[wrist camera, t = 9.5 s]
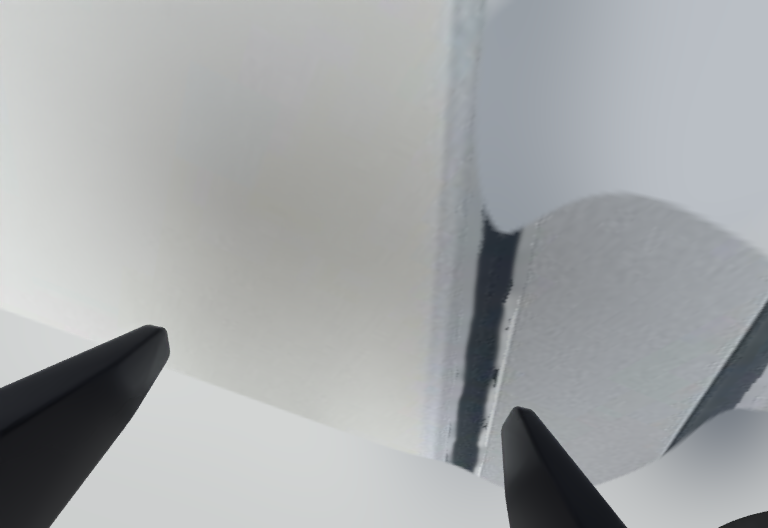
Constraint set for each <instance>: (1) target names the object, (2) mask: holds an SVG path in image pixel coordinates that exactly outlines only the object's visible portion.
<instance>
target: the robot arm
mask: <svg viewBox="0 0 768 528" xmlns="http://www.w3.org/2000/svg"><path fill="white" fill-rule="evenodd" d="M169 355H170V348H169V341H168V335H167V331H166V329H165V328H163V327H159V326H154V325H145V326H142V327H140V328H138V329H136V330H133V331H131V332H129V333H126V334H124V335H122V336H119V337H117V338H115V339H113V340H110V341H108V342H106V343H103V344H101V345H99V346H96V347H94V348H92V349H90V350H87V351H85V352H83V353H80V354H78V355H76V356H74V357H71V358H69V359H67V360H64V361H62V362H59V363H57V364H55V365H53V366H50V367H48V368H46V369H43V370H41V371H39V372H37V373H34V374H32V375H30V376H27V377H25V378H23V379H20V380H18V381H16V382H14V383H11V384H9V385H6V386H4V387H2V388H0V528H49V527H50V526H51V525H52V523H53V522H54V521H55V519H56V518H57V516H58V515H59V514H60V513H61V511H62V510H63V509H64V507H65V506H66V505H67V503H68V502H69V501H70V499H71V498H72V496H73V495H74V494H75V493H76V491H77V490H78V489H79V487H80V486H81V485H82V484H83V482H84V481H85V479H86V478H87V477H88V476H89V474H90V473H91V471H92V470H93V469H94V467H95V466H96V465H97V464H98V462H99V461H100V460H101V458H102V457H103V456H104V454H105V453H106V452H107V450H108V449H109V448H110V446H111V445H112V444H113V442H114V441H115V440H116V438H117V437H118V436H119V435H120V433H121V432H122V431H123V429H124V428H125V426H126V425H127V424H128V422H129V421H130V420H131V418H132V417H133V415H134V414H135V412H136V410H137V409H138V408H139V406H140V404H141V403H142V401H143V399H144V398H145V396H146V395H147V393H148V391H149V390H150V388H151V386H152V385H153V383H154V381H155V380H156V378H157V377H158V375H159V373H160V372H161V370H162V368H163V367H164V365H165V364H166V362H167V360H168V358H169ZM501 438H502V454H503V470H504V485H505V497H506V504H507V511H508V517H509V523H510V528H627V527H626V526H625V524H624V523H623V522H622V521H621V520H620V518H619V517H618V516H617V515H616V513H615V512H614V511H613V510H612V508H611V507H610V506H609V505H608V503H607V502H606V501H605V500H604V498H603V497H602V496H601V495H600V493H599V492H598V491H597V490H596V488H595V487H594V486H593V485H592V483H591V482H590V481H589V480H588V478H587V477H586V476H585V475H584V473H583V472H582V471H581V470H580V468H579V467H578V466H577V465H576V463H575V462H574V461H573V460H572V458H571V457H570V456H569V455H568V454H567V452H566V451H565V450H564V449H563V447H562V446H561V445H560V444H559V442H558V441H557V440H556V439H555V437H554V436H553V435H552V434H551V432H550V431H549V430H548V429H547V427H546V426H545V425H544V424H543V422H542V421H541V420H540V419H539V417H538V416H537V415H536V414H535V413H534V412H533V411H532V410H531V409H527V408H523V407H518V406H517V407H515V408H513V410H512V411H511V413H510V414H509V416H508V417H507V419H506V421H505V422H504V424H503V426H502V430H501Z"/></svg>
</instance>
